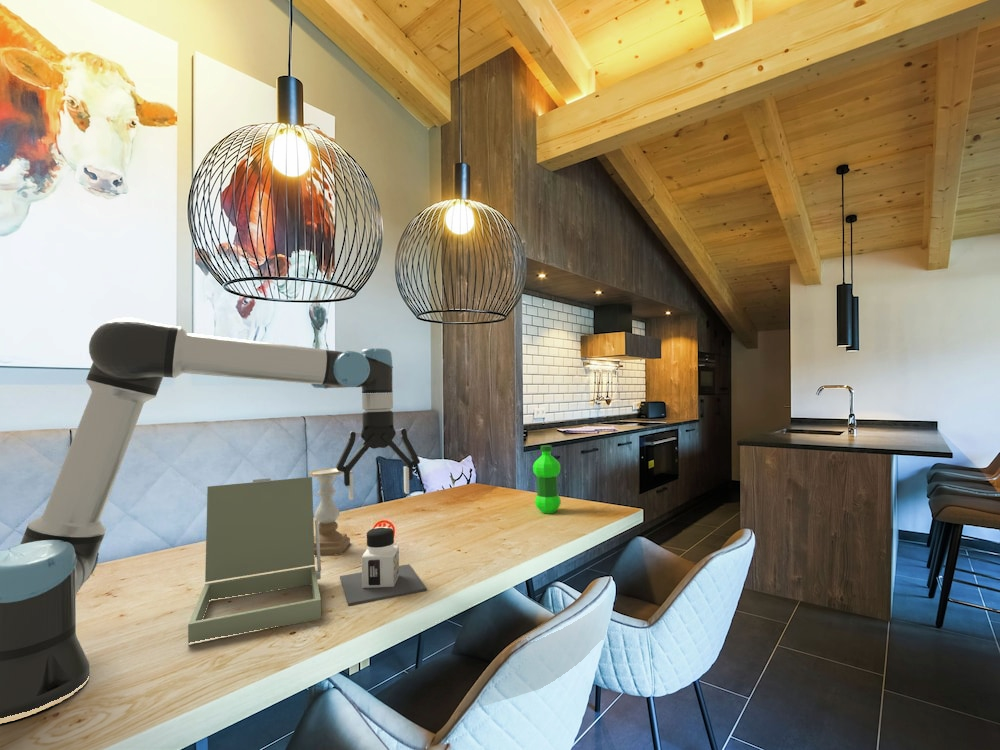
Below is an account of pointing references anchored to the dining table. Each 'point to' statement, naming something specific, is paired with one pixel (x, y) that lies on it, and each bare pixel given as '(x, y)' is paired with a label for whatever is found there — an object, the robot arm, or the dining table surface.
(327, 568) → the dining table surface
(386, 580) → the container
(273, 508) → the lid
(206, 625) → the case
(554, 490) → the plastic bottle
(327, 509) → the candle holder
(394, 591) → the mat
